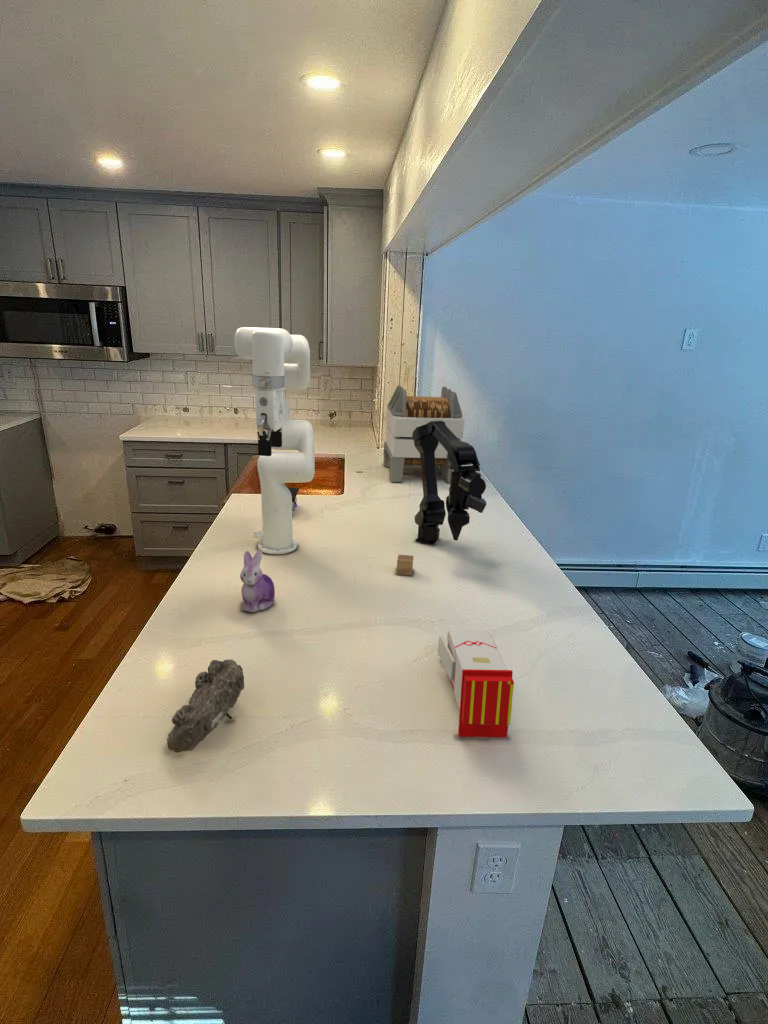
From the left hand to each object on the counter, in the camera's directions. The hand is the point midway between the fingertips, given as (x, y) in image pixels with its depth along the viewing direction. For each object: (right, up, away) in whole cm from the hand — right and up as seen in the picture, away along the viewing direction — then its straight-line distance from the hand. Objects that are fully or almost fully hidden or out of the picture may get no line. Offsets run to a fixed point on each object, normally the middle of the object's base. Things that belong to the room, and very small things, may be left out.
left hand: (270, 451), depth 145 cm
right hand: (+51, -23, +32) cm, 64 cm away
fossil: (-4, -55, -36) cm, 66 cm away
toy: (+47, -53, -26) cm, 76 cm away
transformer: (+46, +3, +130) cm, 138 cm away
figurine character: (-8, -15, +73) cm, 75 cm away
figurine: (-4, -40, +4) cm, 40 cm away
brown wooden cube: (+35, -34, +27) cm, 55 cm away
